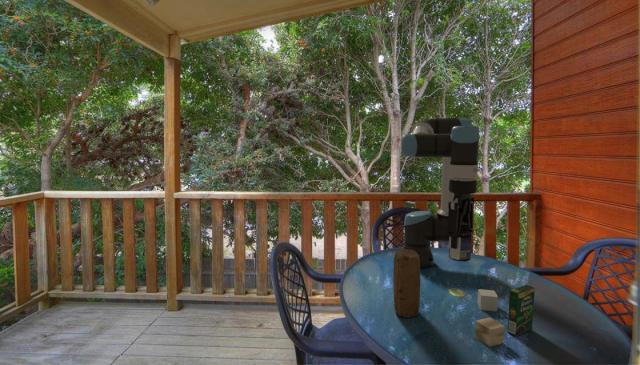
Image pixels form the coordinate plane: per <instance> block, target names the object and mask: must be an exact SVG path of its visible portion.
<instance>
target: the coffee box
mask: <svg viewBox="0 0 640 365" xmlns="http://www.w3.org/2000/svg"><path fill="white" fill-rule="evenodd" d="M535 290H536V288H535V287H534V286H532V285H528V284H525V285H522V286H519V287H516V288H514V289H510V291H509V302H508V314H507V315H508V317H507V318H508V320H507V333H508V334H510V335H511V336H513V337H515V338H517V337H519V336H521V335H523V334H525V333H529V332H530V331H532V330H533V324H534V323H533V320H534V306H535V292H536V291H535Z"/></svg>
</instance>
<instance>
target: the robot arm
mask: <svg viewBox="0 0 640 365" xmlns="http://www.w3.org/2000/svg"><path fill="white" fill-rule="evenodd" d="M480 139H481V136H480V127H479V126H477V125H472V122H471V119H469V118H468V117H467V118H466V117H443V118H441V117H439V118H436V117H435V118H433V117H432V118H426V119H424V120H421V121H419V122H417V123H415V124H414V125H413V126H412V127H411V129H410V131H409V133H405V134H403V135H402V137H401V156H403V157H405V158H406V157H407V158H442V167H441V170H442V171H441V190H440V191H441V193H440V208H439V209H438V210H437V211H436V215H433V213H432V212H431V211H428V210H419V211H418V210H415V211H411V212H409V213H407V214H405V216H404V223H403V226H404V229H403V230H404V233H403V247H402V249H412V250H414V251H416V252H417V254H418V255H419V257H420V269H425V268H430V267H433V266H434V265H435V258H434V255H433V251H432V247H431V243H432V242H435V243H447V244H449V237H451V238H450V258H452V259H457V260H460V245H461V238H460V237H459V236H460V230H461V224H462V221H463V222H468V223H469V228H468V230H469V231H470V232H471V234H473V233H474V215H475V214H474V211H475V208H474V207H475V201H476V200H475V197H472V196H471V195H473V194H476V193H477V189H478V188H477V187H478V181H477V180H476V179H478V173H479V172H480V169H479V167H478V166H479V150H480V149H479V148H480ZM450 258H449V259H450ZM452 259H451V260H452Z"/></svg>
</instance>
